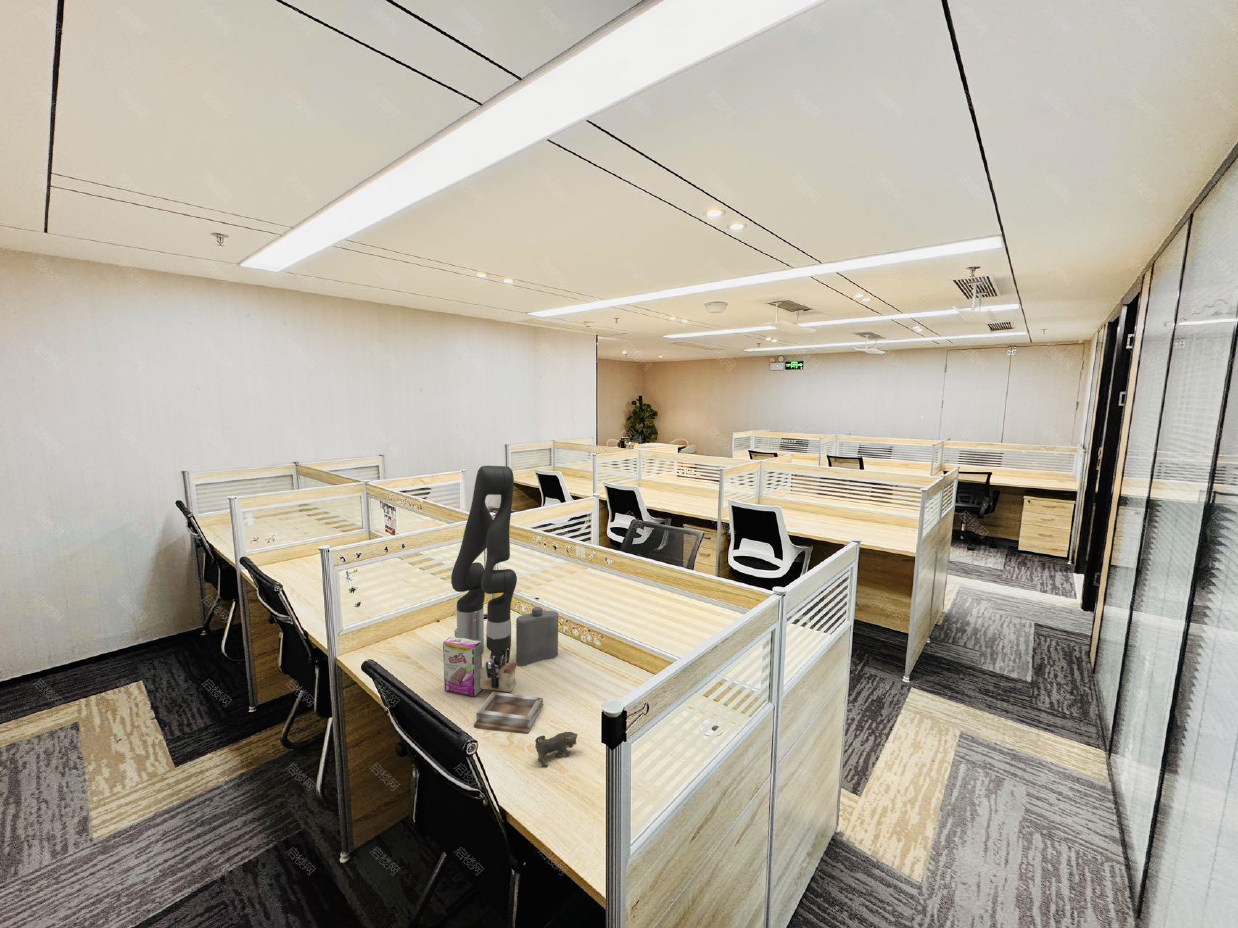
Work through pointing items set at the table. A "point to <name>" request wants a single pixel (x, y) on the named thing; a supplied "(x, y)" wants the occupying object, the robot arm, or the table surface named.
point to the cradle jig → (508, 712)
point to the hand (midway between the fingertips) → (498, 682)
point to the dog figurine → (555, 745)
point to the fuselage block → (505, 678)
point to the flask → (536, 636)
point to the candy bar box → (462, 665)
